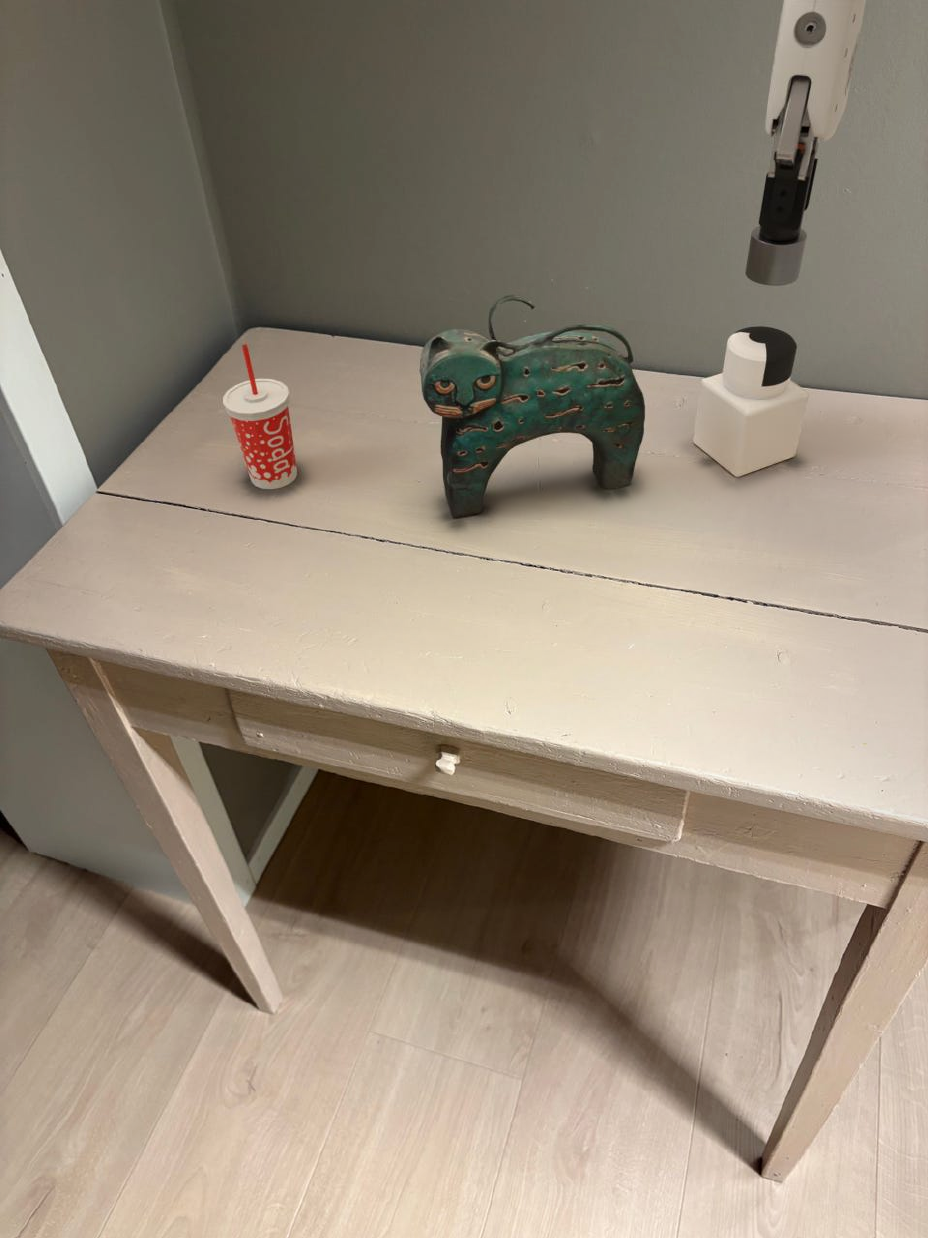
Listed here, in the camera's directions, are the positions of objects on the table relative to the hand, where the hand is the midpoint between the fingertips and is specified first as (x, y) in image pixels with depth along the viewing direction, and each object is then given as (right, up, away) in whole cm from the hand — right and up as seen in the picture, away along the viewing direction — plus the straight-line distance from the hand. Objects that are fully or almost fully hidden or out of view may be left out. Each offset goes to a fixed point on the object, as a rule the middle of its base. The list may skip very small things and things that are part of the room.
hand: (783, 215), depth 78 cm
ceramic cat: (-19, -21, +13) cm, 31 cm away
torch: (0, -4, +3) cm, 5 cm away
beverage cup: (-45, -19, +17) cm, 51 cm away
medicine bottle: (+1, -17, +16) cm, 23 cm away
